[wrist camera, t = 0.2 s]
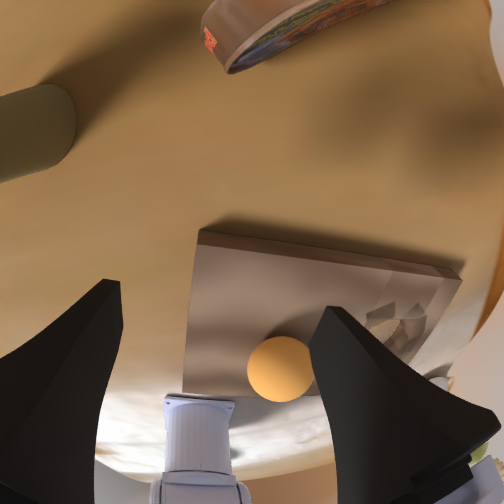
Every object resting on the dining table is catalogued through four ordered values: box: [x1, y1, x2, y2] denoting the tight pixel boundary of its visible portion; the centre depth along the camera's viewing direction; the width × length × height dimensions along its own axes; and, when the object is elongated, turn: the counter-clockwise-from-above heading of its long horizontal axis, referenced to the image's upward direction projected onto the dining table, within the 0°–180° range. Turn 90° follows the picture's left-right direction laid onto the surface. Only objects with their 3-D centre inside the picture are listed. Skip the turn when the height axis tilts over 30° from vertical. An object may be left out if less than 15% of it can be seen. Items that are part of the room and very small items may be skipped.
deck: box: [182, 230, 463, 397], centre depth 24 cm, size 16×24×2 cm, turn 78°
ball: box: [247, 336, 314, 402], centre depth 20 cm, size 5×5×5 cm
